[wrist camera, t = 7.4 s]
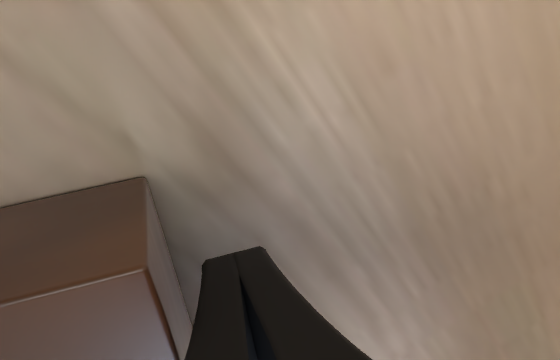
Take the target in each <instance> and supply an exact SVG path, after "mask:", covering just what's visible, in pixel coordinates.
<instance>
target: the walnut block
mask: <svg viewBox="0 0 560 360" xmlns="http://www.w3.org/2000/svg"><path fill="white" fill-rule="evenodd" d="M192 330H193V328H192V325H191V322H190V319H189V315H188V312H187V309H186V306H185V302H184V299H183V296H182V293H181V289H180V286H179V283H178V280H177V276H176V273H175V270H174V266H173V263H172V260H171V257H170V253H169V250H168V247H167V244H166V240H165V237H164V234H163V231H162V227H161V224H160V221H159V218H158V214H157V211H156V208H155V205H154V201H153V198H152V195H151V192H150V188H149V185H148V182H147V180H146V179H145V178H144V177H141V178H136V179H132V180H127V181H122V182H118V183H113V184H109V185H104V186H100V187H95V188H91V189H86V190H82V191H77V192H73V193H68V194H63V195H59V196H54V197H50V198H45V199H41V200H36V201H32V202H27V203H23V204H18V205H14V206H9V207H4V208H0V360H184V359H185V356H186V353H187V349H188V346H189V342H190V338H191V334H192Z"/></svg>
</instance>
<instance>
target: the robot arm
mask: <svg viewBox="0 0 560 360" xmlns="http://www.w3.org/2000/svg"><path fill="white" fill-rule="evenodd" d="M257 358H258V359H257ZM184 360H372V359H371V358H370V357H368V356H367V355H366V354H365V353H363V352H362V351H361V350H360V349H358V348H357V347H356V346H355V345H354V344H352V343H351V342H350V341H349V340H348V339H347V338H345V337H344V336H343V335H342V334H341V333H340V332H339V331H338V330H337V329H335V328H334V327H333V326H332V325H331V324H330V323H329V322H328V321H327V320H326V319H325V318H324V317H323V316H322V315H321V314H319V313H318V312H317V311H316V310H315V309H314V308H313V306H312V305H311V304H310V303H309V302H308V301H307V300H306V299H305V298H304V297H303V296H302V295H301V294H300V293H299V292H298V291H297V290H296V289H295V287H294V286H293V285H292V284H291V283H290V282H289V281H288V279H287V278H286V277H285V276H284V275H283V273H282V272H281V271H280V270H279V268H278V267H277V266H276V264H275V263H274V262H273V260H272V259H271V257H270V256H269V254H268V253H267V251H266V249H264V248H262V247H260V246H259V247H255V248H251V249H247V250H243V251H239V252H235V253H231V254H227V255H224V256H220V257H216V258H212V259H208V260H205V262H204V263H203V264H202V278H201V288H200V295H199V301H198V307H197V312H196V316H195V321H194V325H193V330H192V334H191V338H190V342H189V346H188V349H187V353H186V356H185V359H184Z"/></svg>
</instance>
